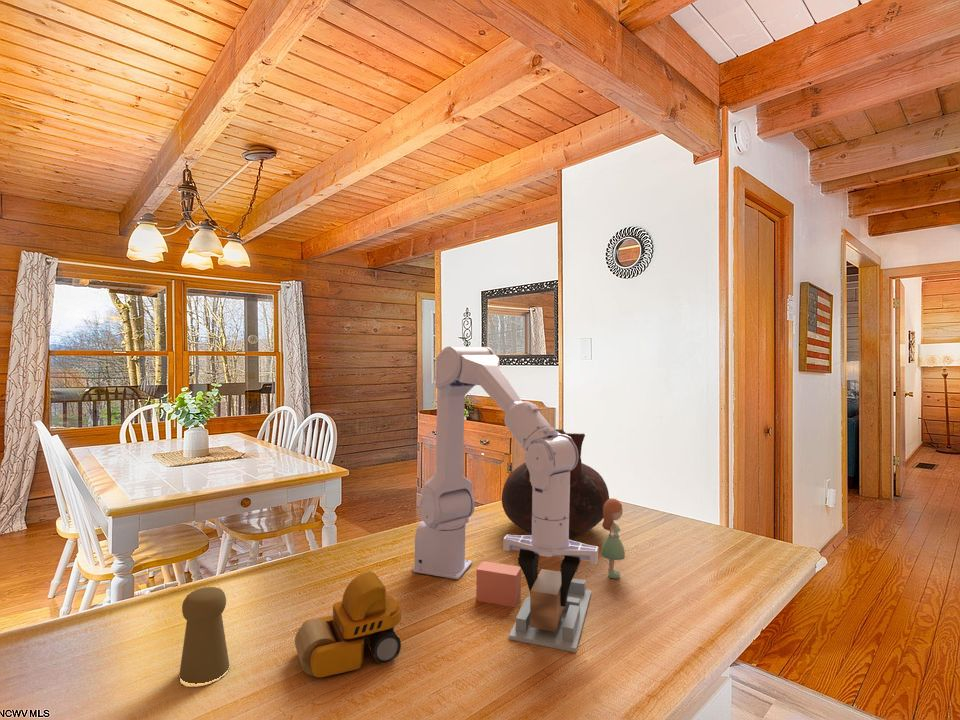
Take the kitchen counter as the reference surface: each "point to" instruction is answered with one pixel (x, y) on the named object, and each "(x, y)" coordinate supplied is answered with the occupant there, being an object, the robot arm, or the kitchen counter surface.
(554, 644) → the jig
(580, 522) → the jug
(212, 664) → the brown pawn figure
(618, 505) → the toy
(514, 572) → the pink block
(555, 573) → the small taupe brick
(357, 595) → the toy road roller
